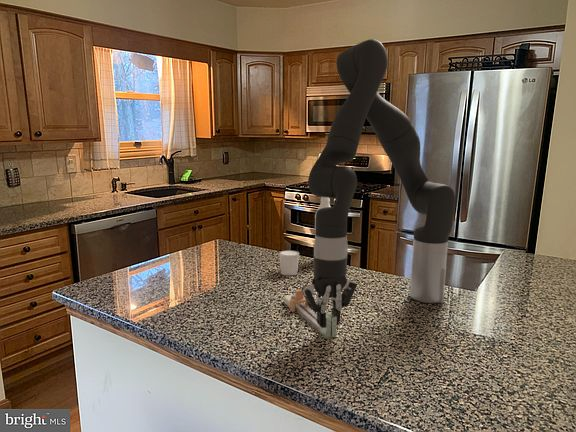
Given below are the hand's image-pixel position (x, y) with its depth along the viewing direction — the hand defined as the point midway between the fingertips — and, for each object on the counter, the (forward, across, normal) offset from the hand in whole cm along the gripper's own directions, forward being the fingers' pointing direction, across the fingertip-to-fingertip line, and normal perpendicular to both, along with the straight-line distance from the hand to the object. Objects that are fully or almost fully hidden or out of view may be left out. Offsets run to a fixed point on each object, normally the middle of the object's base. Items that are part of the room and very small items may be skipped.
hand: (328, 325), depth 100 cm
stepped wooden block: (+3, 0, -16) cm, 16 cm away
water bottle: (+3, -26, -52) cm, 59 cm away
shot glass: (+3, -9, -45) cm, 46 cm away
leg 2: (+3, -1, -8) cm, 9 cm away
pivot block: (+3, 0, -19) cm, 19 cm away
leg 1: (+3, +1, -8) cm, 8 cm away
